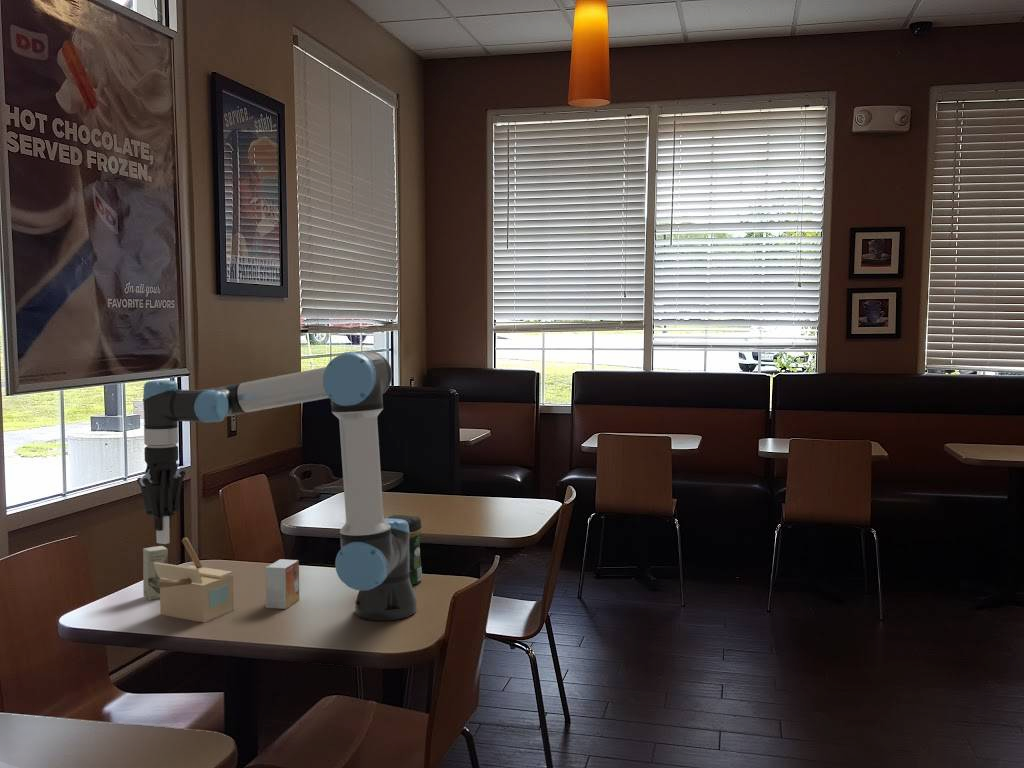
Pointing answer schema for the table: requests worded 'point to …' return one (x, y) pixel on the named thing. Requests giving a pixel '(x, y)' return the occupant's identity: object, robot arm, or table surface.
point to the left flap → (176, 575)
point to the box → (152, 570)
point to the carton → (198, 599)
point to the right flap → (202, 570)
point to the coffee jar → (413, 546)
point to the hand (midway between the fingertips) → (163, 542)
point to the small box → (282, 583)
